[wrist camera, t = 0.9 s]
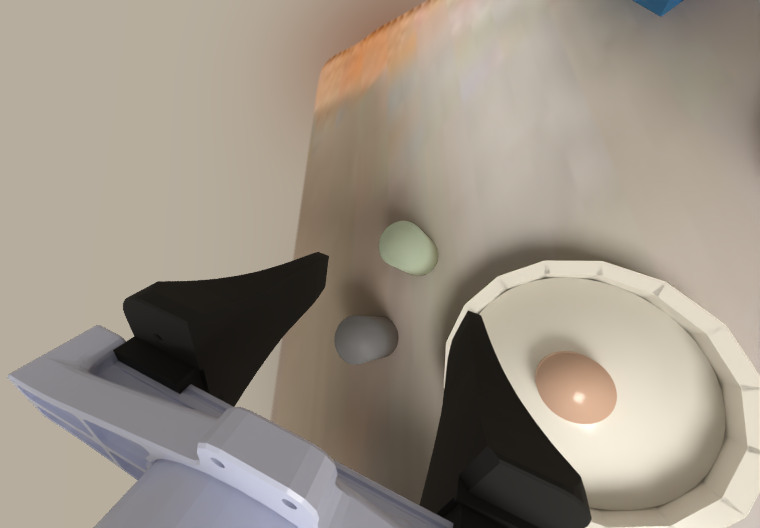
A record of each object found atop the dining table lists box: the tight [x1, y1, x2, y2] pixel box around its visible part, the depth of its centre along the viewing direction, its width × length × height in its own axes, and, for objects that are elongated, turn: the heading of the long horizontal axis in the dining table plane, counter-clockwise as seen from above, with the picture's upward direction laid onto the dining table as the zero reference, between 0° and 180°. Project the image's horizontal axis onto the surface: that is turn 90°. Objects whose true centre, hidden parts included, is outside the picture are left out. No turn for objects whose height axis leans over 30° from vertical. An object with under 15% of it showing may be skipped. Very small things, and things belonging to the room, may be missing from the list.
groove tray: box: [444, 260, 760, 528], centre depth 19 cm, size 17×17×2 cm
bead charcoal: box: [335, 316, 398, 365], centre depth 25 cm, size 4×4×5 cm
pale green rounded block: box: [379, 221, 438, 276], centre depth 25 cm, size 4×4×5 cm
